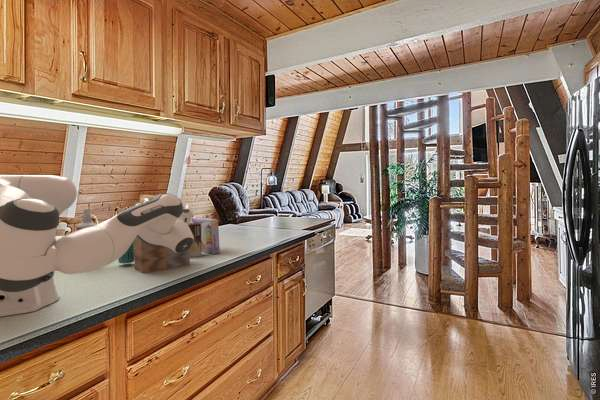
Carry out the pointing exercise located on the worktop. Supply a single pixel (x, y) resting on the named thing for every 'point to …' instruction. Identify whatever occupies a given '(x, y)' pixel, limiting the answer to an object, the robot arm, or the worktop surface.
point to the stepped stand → (157, 256)
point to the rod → (146, 197)
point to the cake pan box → (209, 234)
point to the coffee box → (196, 240)
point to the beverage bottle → (128, 255)
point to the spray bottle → (85, 220)
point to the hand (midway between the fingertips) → (157, 199)
